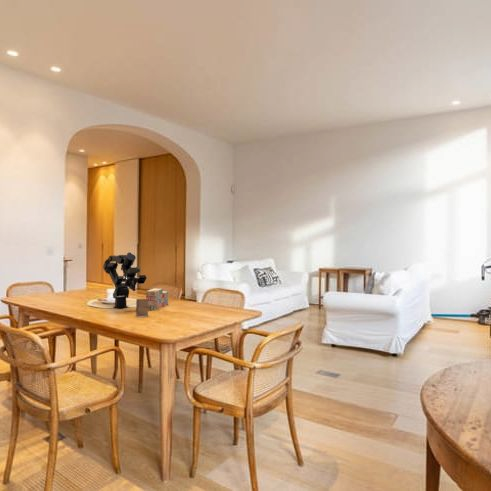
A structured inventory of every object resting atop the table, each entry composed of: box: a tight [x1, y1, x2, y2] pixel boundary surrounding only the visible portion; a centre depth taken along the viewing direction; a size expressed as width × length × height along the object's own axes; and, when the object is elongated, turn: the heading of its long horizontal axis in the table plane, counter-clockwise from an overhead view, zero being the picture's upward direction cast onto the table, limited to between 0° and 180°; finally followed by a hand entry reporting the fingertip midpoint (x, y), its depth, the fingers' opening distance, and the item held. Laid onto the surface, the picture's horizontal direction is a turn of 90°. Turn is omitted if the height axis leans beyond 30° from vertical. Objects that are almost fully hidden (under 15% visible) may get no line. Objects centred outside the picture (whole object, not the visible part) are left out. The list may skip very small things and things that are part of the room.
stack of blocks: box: [145, 288, 169, 311], centre depth 257 cm, size 21×6×12 cm, turn 169°
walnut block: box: [135, 297, 149, 318], centre depth 227 cm, size 5×5×10 cm
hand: (134, 290), depth 235 cm, fingers closed
